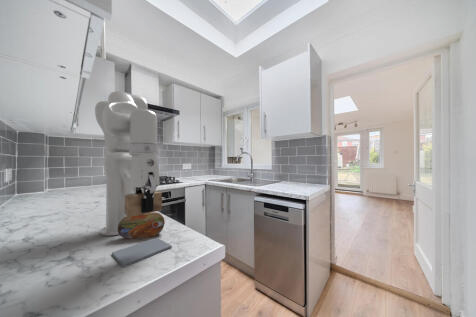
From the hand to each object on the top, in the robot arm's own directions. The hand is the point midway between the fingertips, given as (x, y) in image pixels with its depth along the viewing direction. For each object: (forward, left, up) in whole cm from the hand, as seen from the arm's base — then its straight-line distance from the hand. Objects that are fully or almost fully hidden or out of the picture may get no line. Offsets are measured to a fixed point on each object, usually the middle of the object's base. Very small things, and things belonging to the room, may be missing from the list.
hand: (143, 209), depth 51 cm
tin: (-12, +5, -13) cm, 18 cm away
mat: (0, 0, -12) cm, 12 cm away
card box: (0, 0, -1) cm, 1 cm away
